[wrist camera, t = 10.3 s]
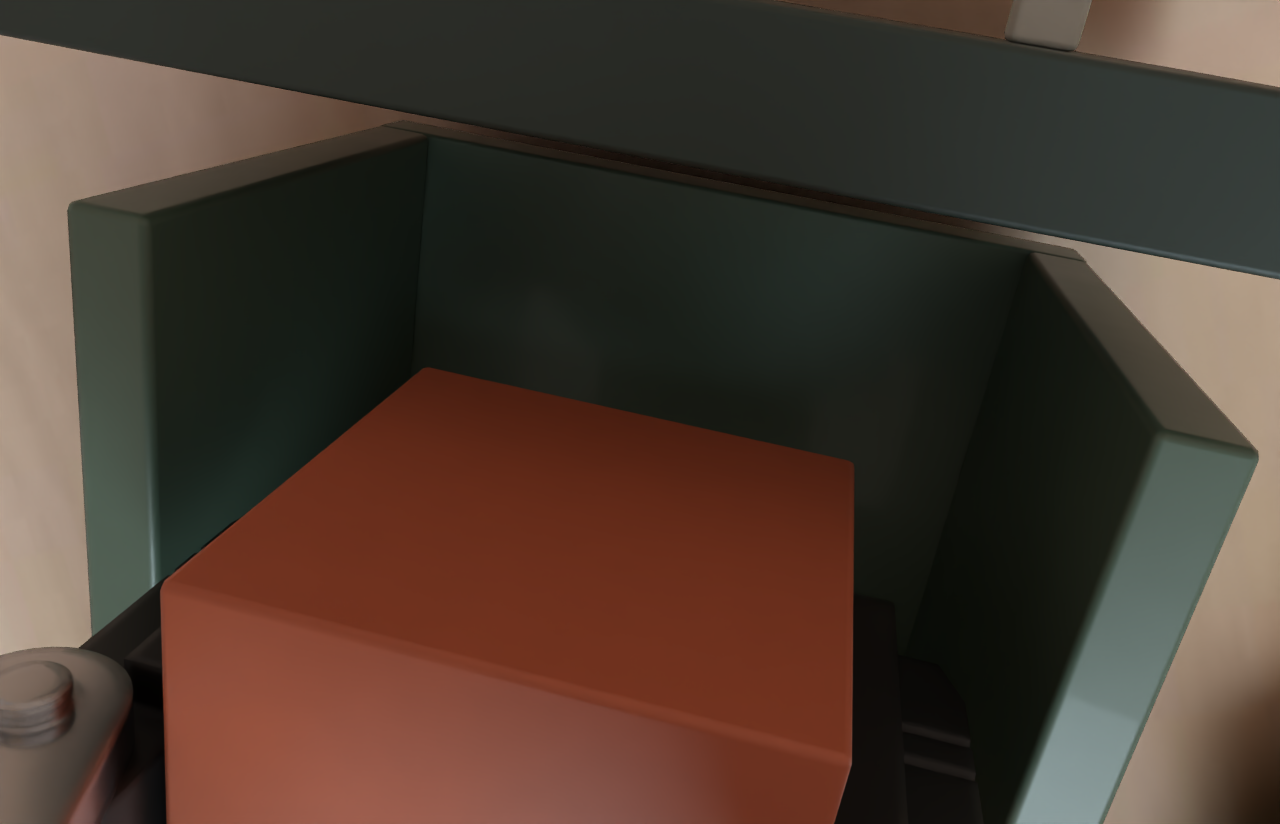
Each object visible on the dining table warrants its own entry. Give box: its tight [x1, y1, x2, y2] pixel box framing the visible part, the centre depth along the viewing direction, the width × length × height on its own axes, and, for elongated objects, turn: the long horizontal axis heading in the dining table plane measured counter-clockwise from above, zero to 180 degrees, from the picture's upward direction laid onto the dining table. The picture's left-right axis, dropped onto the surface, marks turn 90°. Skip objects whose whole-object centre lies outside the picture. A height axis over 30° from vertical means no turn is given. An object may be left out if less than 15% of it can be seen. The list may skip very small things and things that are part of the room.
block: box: [160, 367, 855, 824], centre depth 9 cm, size 4×4×4 cm
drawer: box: [0, 0, 1280, 824], centre depth 13 cm, size 18×11×8 cm, turn 171°
